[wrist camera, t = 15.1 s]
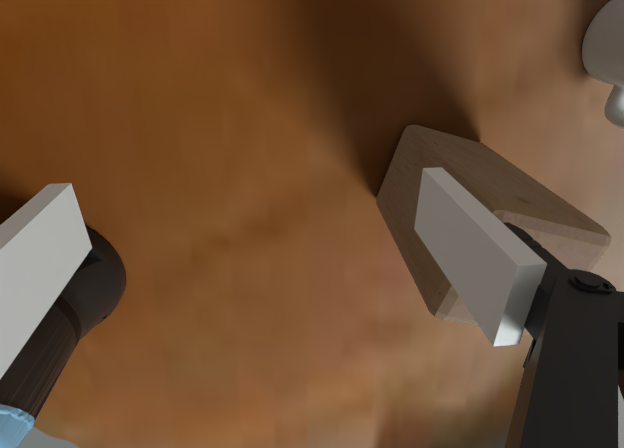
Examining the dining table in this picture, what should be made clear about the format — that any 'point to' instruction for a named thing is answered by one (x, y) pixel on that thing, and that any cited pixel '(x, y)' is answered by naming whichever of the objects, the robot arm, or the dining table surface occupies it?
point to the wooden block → (489, 192)
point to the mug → (607, 56)
